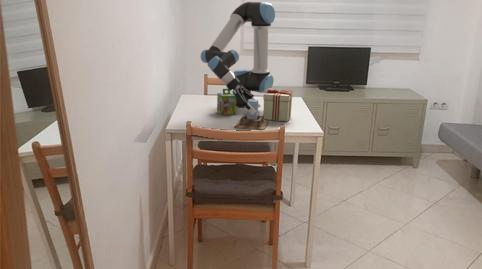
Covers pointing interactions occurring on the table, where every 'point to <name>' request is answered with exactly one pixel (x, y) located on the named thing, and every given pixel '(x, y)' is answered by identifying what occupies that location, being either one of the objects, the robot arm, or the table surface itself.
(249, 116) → the block
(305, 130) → the table surface
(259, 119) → the cradle
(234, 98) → the chalk box
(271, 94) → the gift box
